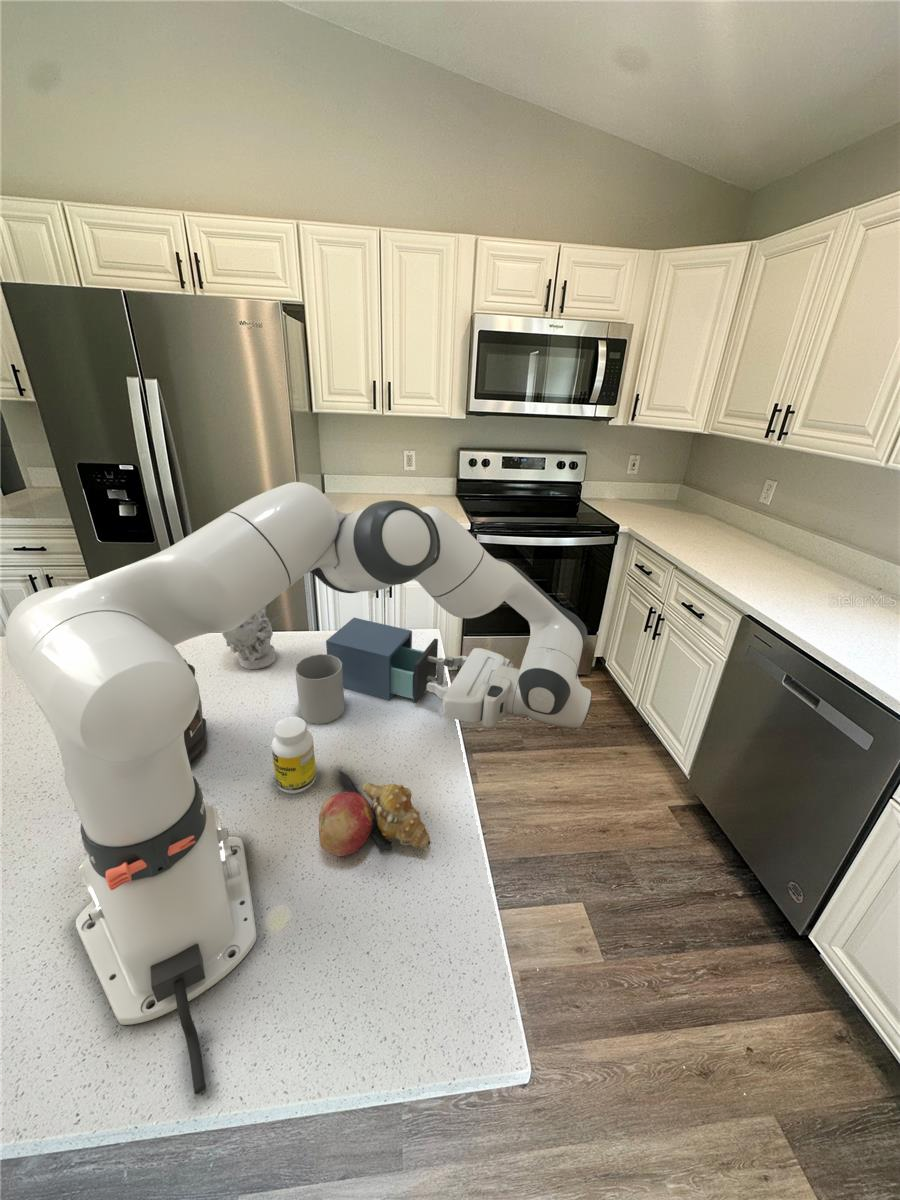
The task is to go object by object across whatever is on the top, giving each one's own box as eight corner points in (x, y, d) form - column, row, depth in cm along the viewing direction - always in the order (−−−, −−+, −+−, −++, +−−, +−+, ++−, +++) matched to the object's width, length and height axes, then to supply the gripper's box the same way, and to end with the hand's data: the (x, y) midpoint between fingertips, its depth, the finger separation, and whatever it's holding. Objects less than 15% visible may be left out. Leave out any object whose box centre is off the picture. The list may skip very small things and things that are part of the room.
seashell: (379, 839, 74) (441, 837, 72) (354, 859, 67) (422, 857, 64) (374, 776, 76) (434, 772, 73) (349, 788, 68) (415, 784, 66)
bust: (291, 662, 106) (267, 601, 101) (241, 683, 102) (214, 620, 96) (282, 648, 115) (259, 591, 110) (236, 666, 111) (211, 608, 106)
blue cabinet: (411, 672, 108) (412, 630, 103) (389, 700, 98) (388, 656, 94) (355, 657, 112) (353, 617, 107) (329, 683, 102) (325, 640, 98)
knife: (399, 843, 68) (380, 852, 66) (398, 848, 68) (379, 856, 67) (346, 765, 81) (329, 770, 80) (346, 769, 82) (329, 774, 80)
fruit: (336, 772, 68) (345, 820, 62) (377, 787, 73) (389, 833, 66) (302, 808, 70) (307, 859, 63) (344, 821, 74) (353, 870, 67)
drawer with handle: (451, 679, 104) (453, 642, 100) (432, 708, 95) (434, 669, 91) (380, 661, 109) (379, 625, 105) (356, 687, 100) (354, 649, 96)
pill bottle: (268, 785, 77) (259, 731, 73) (296, 760, 82) (289, 708, 78) (297, 801, 75) (290, 746, 70) (324, 774, 80) (320, 721, 75)
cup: (349, 698, 98) (347, 656, 94) (337, 725, 91) (334, 681, 86) (308, 694, 99) (304, 652, 94) (293, 721, 91) (287, 676, 87)
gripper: (517, 648, 102) (454, 635, 106) (490, 705, 84) (417, 686, 88) (513, 674, 104) (453, 659, 108) (487, 734, 87) (416, 714, 91)
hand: (436, 672), depth 98 cm, fingers open, 8 cm apart
